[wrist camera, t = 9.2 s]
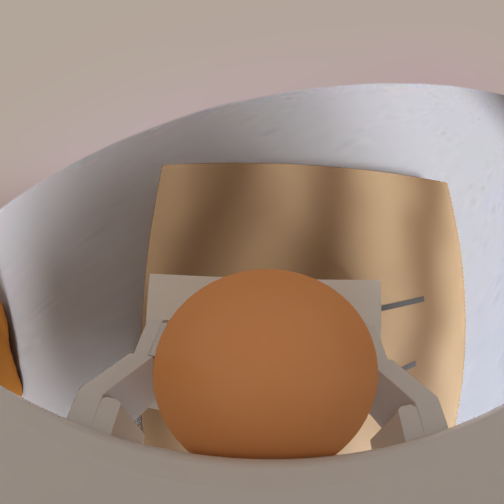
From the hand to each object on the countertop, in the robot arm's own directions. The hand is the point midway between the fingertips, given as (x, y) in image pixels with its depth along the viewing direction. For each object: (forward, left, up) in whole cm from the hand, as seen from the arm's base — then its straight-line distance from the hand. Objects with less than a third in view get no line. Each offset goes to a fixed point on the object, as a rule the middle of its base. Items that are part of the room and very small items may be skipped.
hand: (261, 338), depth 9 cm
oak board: (-3, +1, -6) cm, 7 cm away
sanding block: (0, +1, -4) cm, 4 cm away
